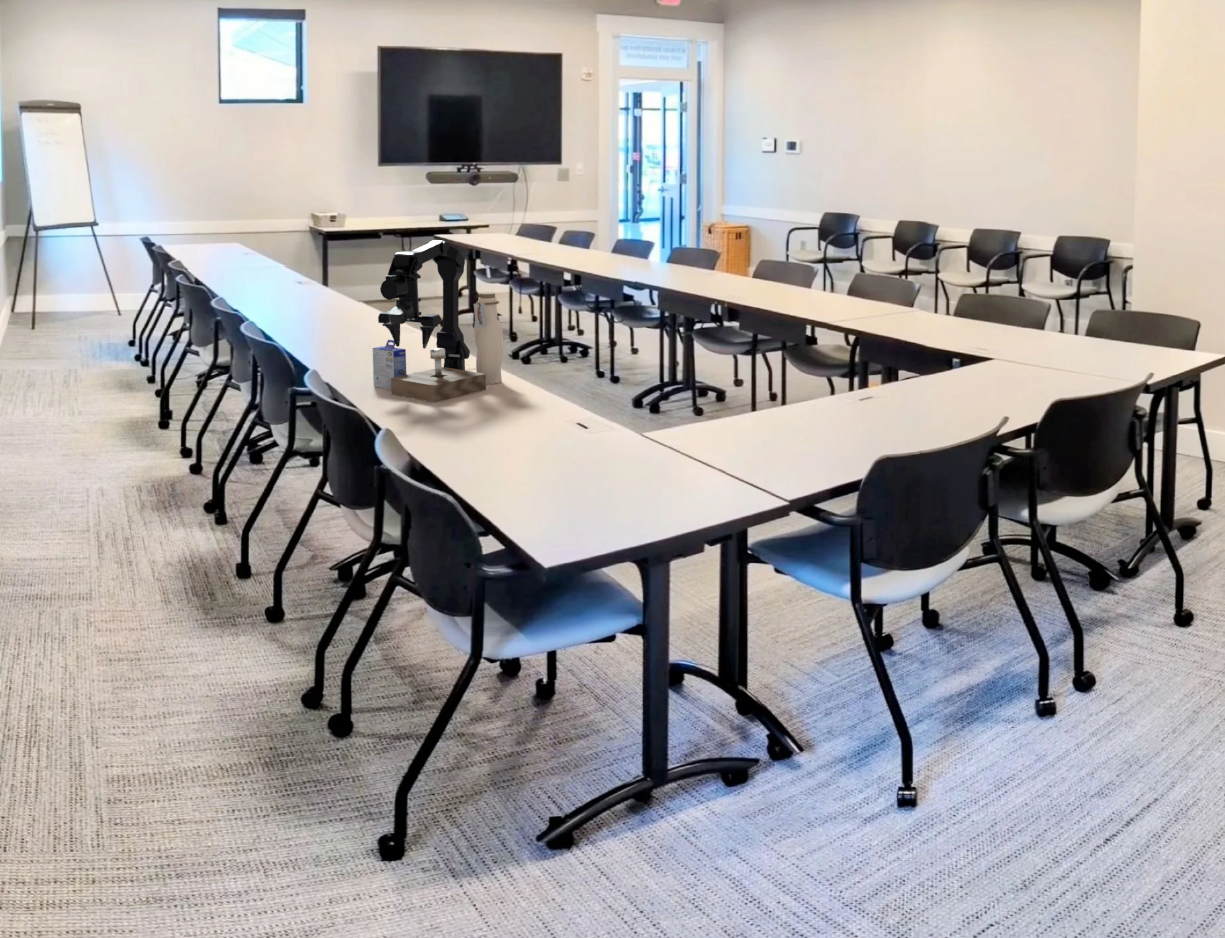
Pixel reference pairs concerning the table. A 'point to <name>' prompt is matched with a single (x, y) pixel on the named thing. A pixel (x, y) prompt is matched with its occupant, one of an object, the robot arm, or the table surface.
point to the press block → (438, 384)
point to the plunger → (437, 360)
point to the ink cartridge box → (388, 364)
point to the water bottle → (488, 337)
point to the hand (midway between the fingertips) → (411, 347)
